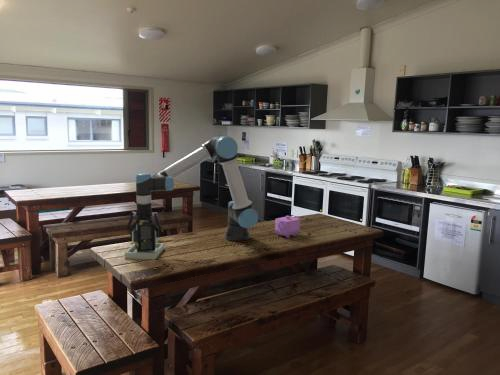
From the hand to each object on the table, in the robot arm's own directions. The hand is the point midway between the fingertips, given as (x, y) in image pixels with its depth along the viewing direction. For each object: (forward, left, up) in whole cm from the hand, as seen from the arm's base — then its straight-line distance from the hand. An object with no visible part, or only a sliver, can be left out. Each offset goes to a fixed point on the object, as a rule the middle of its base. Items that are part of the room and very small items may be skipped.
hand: (144, 242), depth 228 cm
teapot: (-79, -45, -6) cm, 91 cm away
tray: (0, 0, -6) cm, 6 cm away
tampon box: (0, 0, -3) cm, 3 cm away
